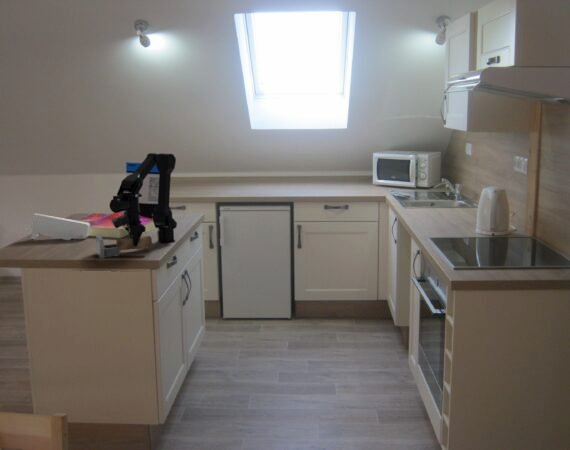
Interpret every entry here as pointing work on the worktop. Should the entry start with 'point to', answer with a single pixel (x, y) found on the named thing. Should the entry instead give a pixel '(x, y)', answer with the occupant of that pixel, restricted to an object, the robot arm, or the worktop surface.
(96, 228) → the pink cream flat block
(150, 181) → the protein powder
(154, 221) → the robot arm
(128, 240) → the rail
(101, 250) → the bracket
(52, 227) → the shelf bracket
